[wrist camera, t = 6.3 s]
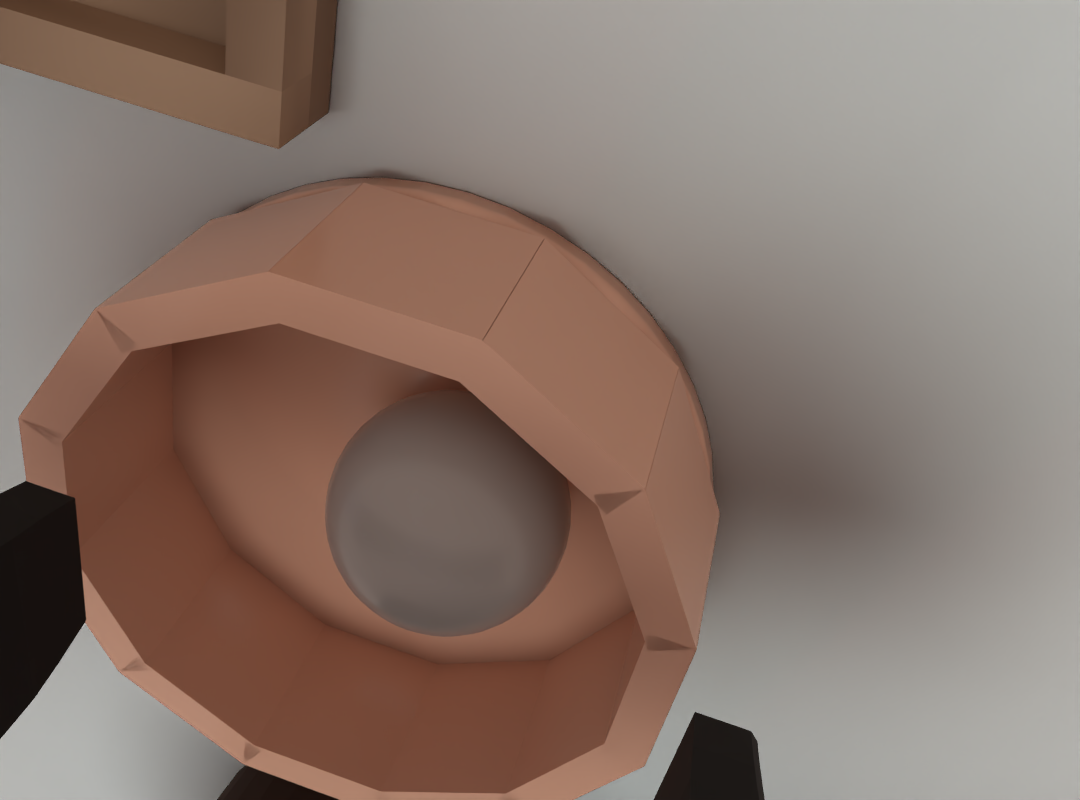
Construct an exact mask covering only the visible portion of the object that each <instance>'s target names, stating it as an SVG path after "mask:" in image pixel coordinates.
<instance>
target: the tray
mask: <svg viewBox="0 0 1080 800" xmlns="http://www.w3.org/2000/svg"><path fill="white" fill-rule="evenodd" d="M336 12H337V0H0V64H4V65H7V66H10V67H13V68H17V69H20V70H23V71H26V72H30V73H33V74H36V75H39V76H43V77H46V78H49V79H53V80H56V81H59V82H62V83H66V84H69V85H72V86H75V87H79V88H82V89H85V90H88V91H92V92H95V93H98V94H101V95H105V96H108V97H111V98H114V99H118V100H121V101H124V102H127V103H131V104H134V105H137V106H140V107H144V108H147V109H150V110H153V111H157V112H160V113H163V114H166V115H170V116H173V117H176V118H179V119H183V120H186V121H189V122H192V123H196V124H199V125H202V126H205V127H209V128H212V129H215V130H218V131H222V132H225V133H228V134H231V135H235V136H238V137H241V138H244V139H248V140H251V141H254V142H257V143H261V144H264V145H267V146H270V147H274V148H277V149H279V148H281V147H282V146H284V145H285V144H286V143H288V142H289V141H290V140H292V139H293V138H294V137H296V136H297V135H299V134H300V133H301V132H303V131H304V130H305V129H307V128H308V127H309V126H311V125H312V124H314V123H315V122H316V121H318V120H319V119H320V118H322V117H323V116H324V115H326V114H327V113H328V110H329V98H330V86H331V74H332V61H333V49H334V37H335V25H336Z"/></svg>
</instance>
